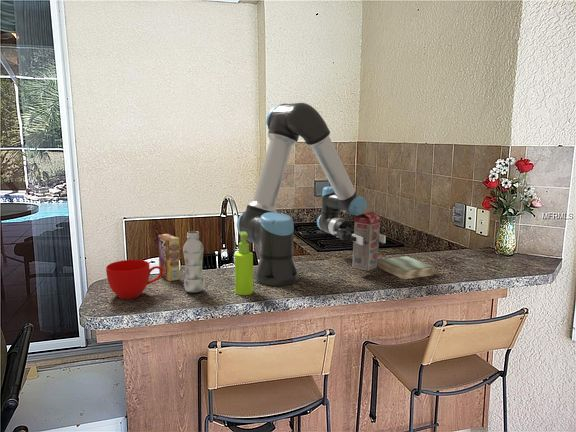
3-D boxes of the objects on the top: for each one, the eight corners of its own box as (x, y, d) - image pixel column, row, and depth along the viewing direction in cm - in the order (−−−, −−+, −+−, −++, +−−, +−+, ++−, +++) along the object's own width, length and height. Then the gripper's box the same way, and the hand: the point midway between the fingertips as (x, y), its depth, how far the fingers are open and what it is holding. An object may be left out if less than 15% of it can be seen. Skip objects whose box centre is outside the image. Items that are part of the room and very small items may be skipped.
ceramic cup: (164, 298, 144) (163, 268, 143) (107, 304, 139) (105, 273, 137) (161, 285, 156) (160, 257, 155) (108, 290, 151) (106, 261, 149)
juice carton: (352, 266, 169) (355, 208, 166) (361, 263, 174) (365, 206, 171) (367, 270, 165) (371, 210, 161) (377, 267, 170) (380, 208, 166)
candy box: (181, 279, 163) (179, 237, 161) (169, 281, 161) (168, 239, 158) (170, 273, 170) (168, 233, 167) (158, 275, 167) (157, 234, 165)
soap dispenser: (249, 287, 156) (249, 229, 152) (254, 294, 149) (254, 234, 146) (232, 289, 154) (232, 230, 150) (237, 296, 148) (236, 235, 144)
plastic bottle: (206, 294, 149) (204, 233, 145) (184, 295, 147) (183, 234, 144) (203, 287, 155) (202, 229, 152) (183, 289, 153) (181, 230, 150)
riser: (403, 279, 167) (404, 270, 166) (378, 267, 181) (378, 259, 180) (434, 275, 172) (434, 266, 172) (407, 263, 187) (407, 255, 186)
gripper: (363, 235, 189) (397, 248, 169) (317, 239, 180) (346, 252, 160) (364, 218, 188) (399, 228, 168) (318, 220, 179) (348, 231, 159)
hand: (373, 240), depth 164 cm, fingers closed on juice carton, 9 cm apart
